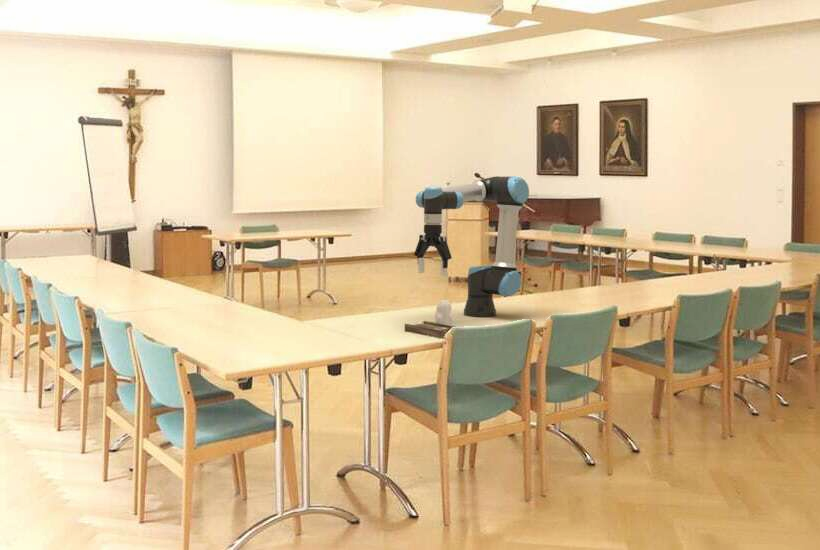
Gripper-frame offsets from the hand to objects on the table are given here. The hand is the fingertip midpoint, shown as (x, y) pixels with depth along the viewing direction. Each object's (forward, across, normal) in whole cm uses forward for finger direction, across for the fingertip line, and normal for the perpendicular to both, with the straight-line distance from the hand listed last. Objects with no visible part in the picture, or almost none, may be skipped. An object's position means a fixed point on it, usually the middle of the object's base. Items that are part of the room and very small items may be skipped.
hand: (432, 274), depth 377 cm
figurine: (+24, 0, +6) cm, 24 cm away
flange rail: (+23, +7, -6) cm, 25 cm away
